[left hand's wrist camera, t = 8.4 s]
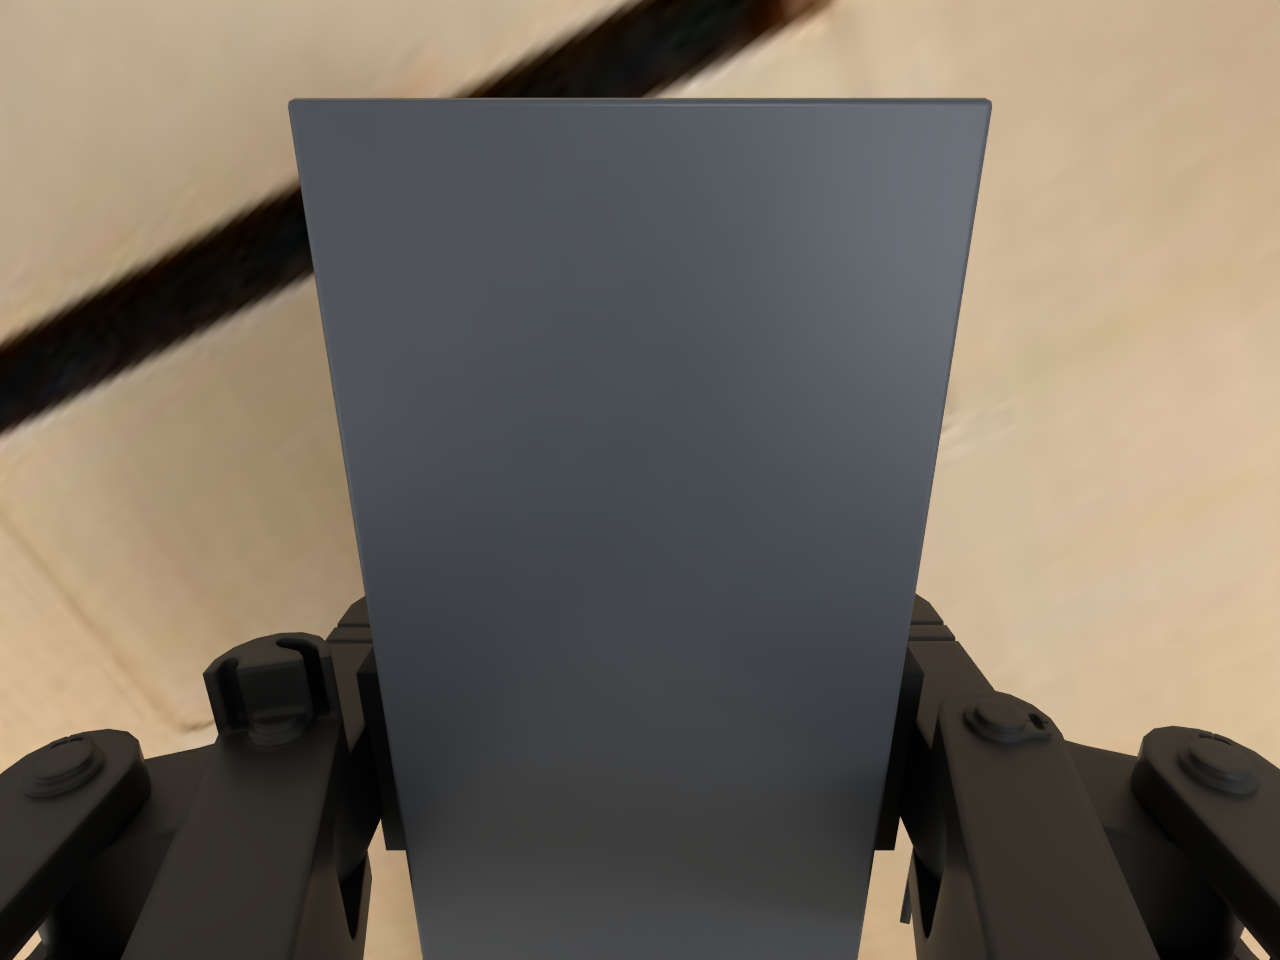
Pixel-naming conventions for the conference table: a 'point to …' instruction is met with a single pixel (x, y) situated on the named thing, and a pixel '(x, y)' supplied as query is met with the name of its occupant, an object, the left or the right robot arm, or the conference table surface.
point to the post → (640, 494)
